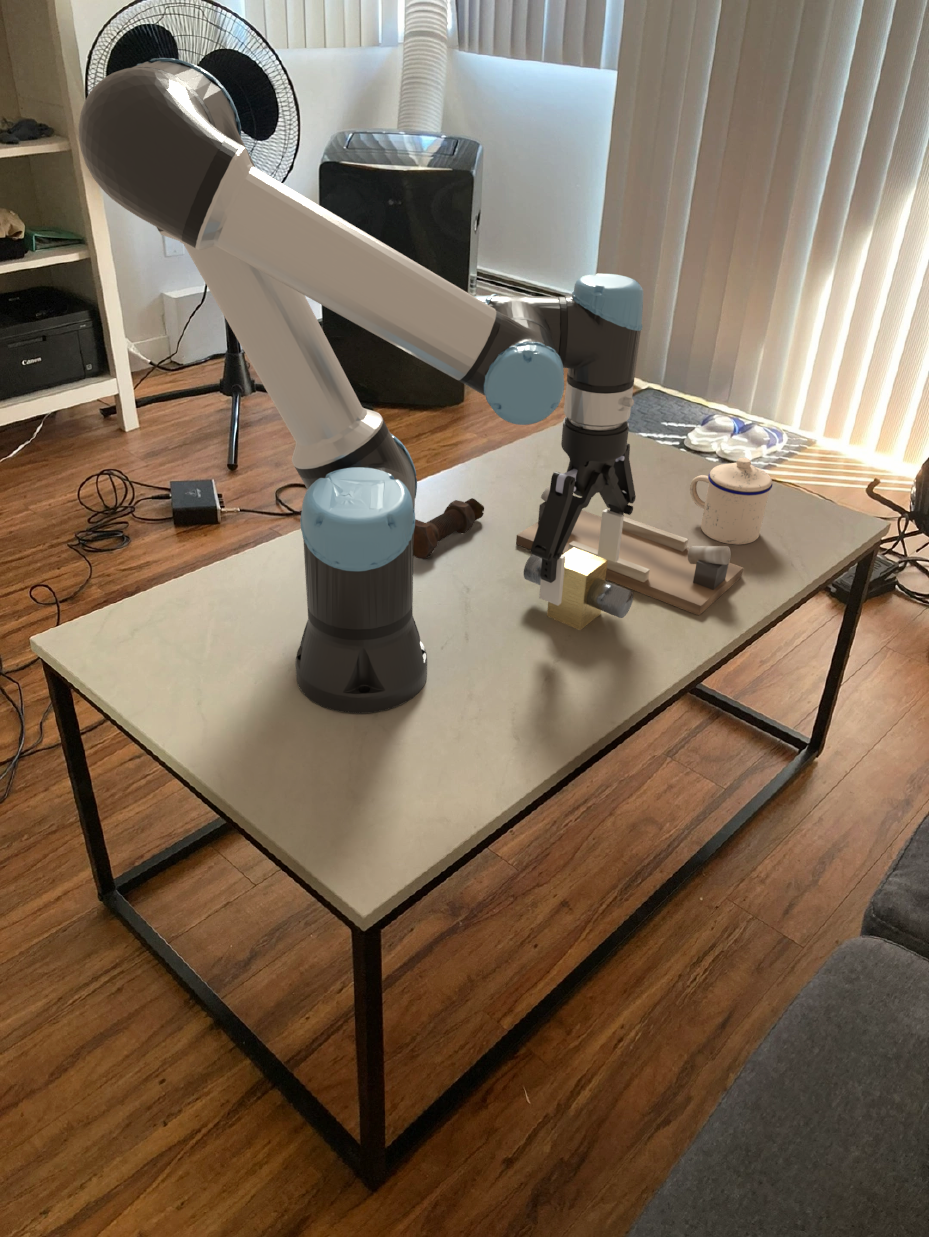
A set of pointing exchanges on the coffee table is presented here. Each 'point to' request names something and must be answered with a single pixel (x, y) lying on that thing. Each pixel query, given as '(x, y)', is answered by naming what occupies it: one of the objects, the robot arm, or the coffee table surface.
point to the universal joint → (583, 589)
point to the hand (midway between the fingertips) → (580, 578)
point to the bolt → (445, 526)
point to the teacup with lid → (733, 501)
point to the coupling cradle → (654, 561)
